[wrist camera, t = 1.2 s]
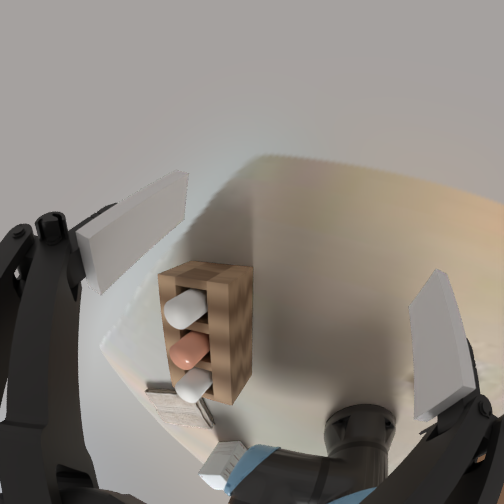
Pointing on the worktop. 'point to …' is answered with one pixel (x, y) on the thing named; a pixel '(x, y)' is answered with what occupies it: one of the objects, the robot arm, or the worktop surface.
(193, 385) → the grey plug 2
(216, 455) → the supplement box
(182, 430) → the worktop surface
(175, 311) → the grey plug
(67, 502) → the robot arm
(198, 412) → the washcloth
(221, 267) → the walnut socket block
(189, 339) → the terracotta plug
